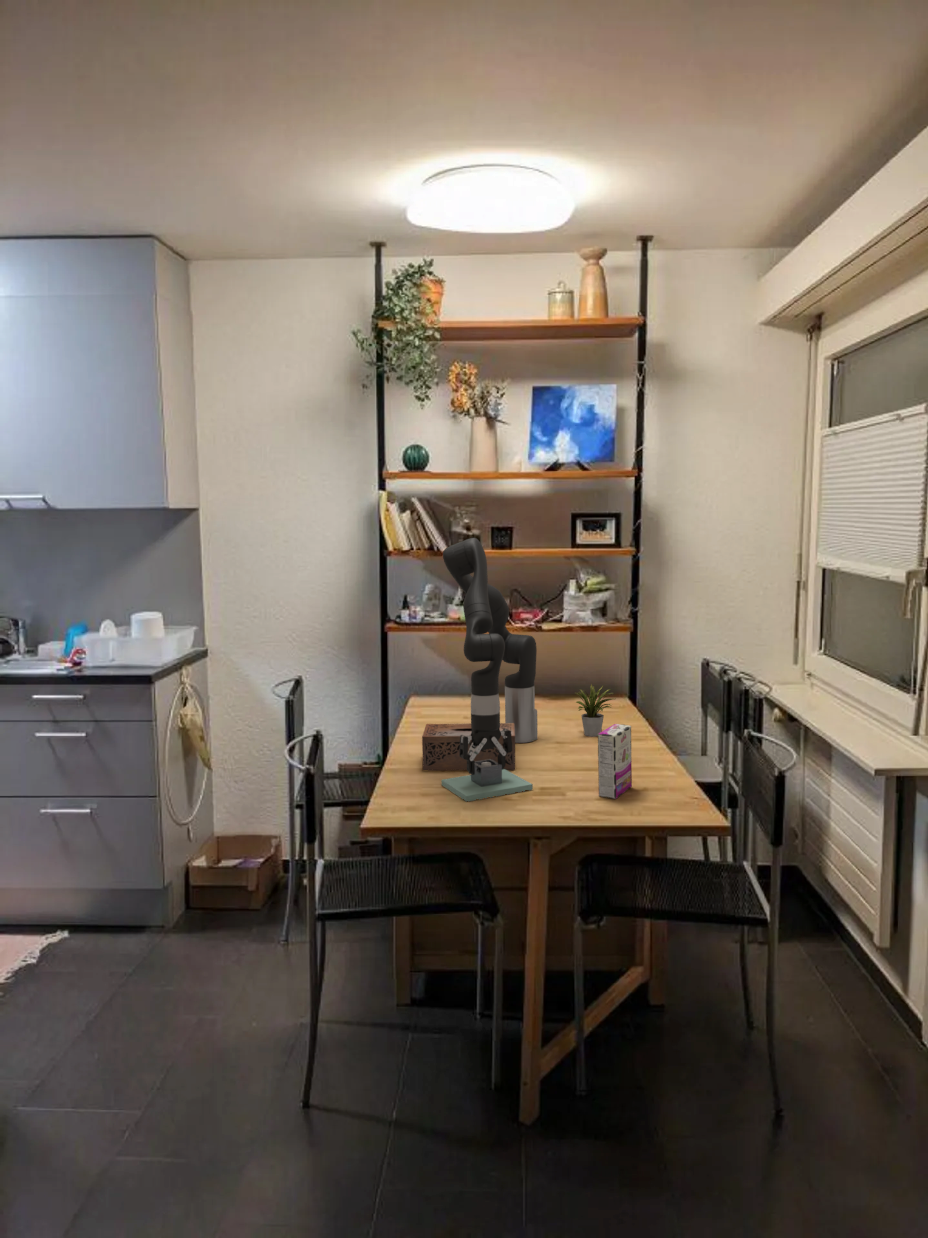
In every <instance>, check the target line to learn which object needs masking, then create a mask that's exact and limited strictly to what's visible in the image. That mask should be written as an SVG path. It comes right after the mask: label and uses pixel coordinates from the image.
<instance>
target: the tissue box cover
mask: <svg viewBox="0 0 928 1238" xmlns="http://www.w3.org/2000/svg"><path fill="white" fill-rule="evenodd" d="M503 729H508V730H510V731H511V739H512V752H509V753H507V754H506V756H505V763H506V765H505V767H504V769H505V770H507V771H516V743H515V729H514V723H505V722H502V723H501V722H500V731H502V730H503ZM471 732H472V730H471V722H470V723H469V722H468V723H425V727H424V731H423V733H422V735H421V747H422V771H423V770H428V771H467V760H464V759H463V758H461V757H460V756H459V749H460V736H461V735H465V736H467V735H471ZM498 742H499V743H500V744H501V746H502V747H503V748H504V743H503V738H502V736H501V737H500V739H499V740H498ZM472 743H473V742H472V740H470V743H469V744H468V751H469V748H470V746H471V745H472ZM498 754H499V753H498V752H497V751H496V749H495V748H493V749H486V750H480V752H479V753H478V754H477V755H476V757H475V758H474V761H481V760H487V759H492V760H494V761H496V762H498Z"/></svg>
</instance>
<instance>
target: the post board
mask: <svg viewBox="0 0 928 1238" xmlns="http://www.w3.org/2000/svg"><path fill="white" fill-rule="evenodd" d="M490 765H491V763H490V762H482V763H481V766H482V767H484V766H490ZM441 786H442V787H444V788H446V789H447V790H448V791H450V792H451V793H452V794H454V795H456V796H457V797H458V798H460V797H461V798H460V799H461V800H463V799H464V800H463V801H465V802H467V801H468V802H473V801H477V800H476V799H479V800H484V799H483V798H485V799H488V798H487V797H490V798H494V797H493V796H496V797H499V796H500V797H501V796H506V795H505V794H507V795H512V794H516V793H515V792H518V793H523V792H526V791H525V790H529V791H532V789H533V783H531V782H529V781H528V780H525V779H523V778H522V777H520V776H518V775H516V774H514V773H513V772H511V771H510V770H505V769H503V770H502V783H501V784H495V785H490V786H484V787H481V786H479V785H477V784H476V783H474V782H473V781H471V774H468V775H463V776H462V775H461V776H456V777H451V778H450V777H449V778H443V779H441ZM533 790H534V789H533ZM522 791H523V792H522Z"/></svg>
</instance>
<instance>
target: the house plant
mask: <svg viewBox="0 0 928 1238" xmlns="http://www.w3.org/2000/svg"><path fill="white" fill-rule="evenodd" d="M603 687H604V685H602V686H601V687H600V688H599V689H598V690H597V692H596V690H595V686H593V684H592V683H591V684H590V689H589V691H590V693H589V694H588V693H587V691H586V690H582V689H579V690H580V691H578V692H575V694H576V695H577V696H578V697H579V698H580V699H581V700H578V701H576V702H575V703H577V704H579V705H581V706H578V708H577V710H578V711H582V710H583V711H585V713H583V714H581V721H582V728H583V733H584V736H587V737H593V738H596V737H598V734H599V733H600V732H602V731H603V723H604V714H602V713H603V710H604V709H606V708H611V709H613V707H614V706H612V705H611V703H605V702H608V701H613V700H615V698H613V697H612V698H606V697H607V696H608V695H611V694H612V695H613V692H610V693H607V692H609V691H610V690H611V689H609V688H608V689H607V690H605V691H604V692H602V693H601V694H600V692H601V690H602V689H603ZM599 694H600V696H599ZM598 696H599V697H598ZM600 712H602V713H600Z"/></svg>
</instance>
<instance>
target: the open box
mask: <svg viewBox="0 0 928 1238" xmlns="http://www.w3.org/2000/svg"><path fill="white" fill-rule="evenodd" d="M482 762H490V763H491V765H490V766H484V767H482V766H481V763H482ZM470 775H471V774H470ZM471 781H473V782H474V783H476V784H477V785H479V786H481V787H484V786H490V785H495V784H501V783H502V765H501V764H500V763H498V762H496V761H494V760H492V759H487V760H481V761H475V774H474V775H471Z"/></svg>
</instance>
